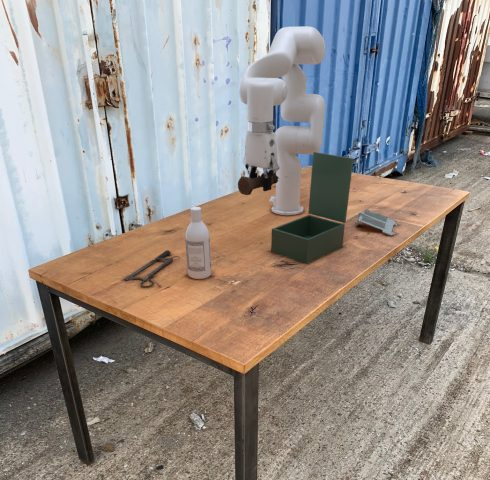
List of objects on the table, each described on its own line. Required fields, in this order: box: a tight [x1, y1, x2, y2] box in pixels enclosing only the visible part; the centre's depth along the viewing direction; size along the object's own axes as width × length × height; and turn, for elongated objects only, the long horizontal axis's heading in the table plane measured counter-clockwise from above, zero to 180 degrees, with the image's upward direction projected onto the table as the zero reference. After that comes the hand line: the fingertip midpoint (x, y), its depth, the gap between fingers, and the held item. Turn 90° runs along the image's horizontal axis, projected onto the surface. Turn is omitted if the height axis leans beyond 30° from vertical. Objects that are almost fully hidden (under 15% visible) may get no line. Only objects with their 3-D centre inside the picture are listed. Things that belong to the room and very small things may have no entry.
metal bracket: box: [354, 208, 398, 236], centre depth 181 cm, size 14×6×15 cm
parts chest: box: [270, 214, 346, 265], centre depth 162 cm, size 19×15×8 cm
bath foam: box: [184, 206, 212, 280], centre depth 143 cm, size 7×7×20 cm
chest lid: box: [307, 152, 354, 224], centre depth 163 cm, size 20×15×5 cm
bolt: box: [237, 172, 279, 196], centre depth 157 cm, size 6×5×15 cm
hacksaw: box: [124, 249, 181, 288], centre depth 151 cm, size 24×10×2 cm, turn 153°
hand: (260, 187), depth 158 cm, fingers closed on bolt, 5 cm apart
